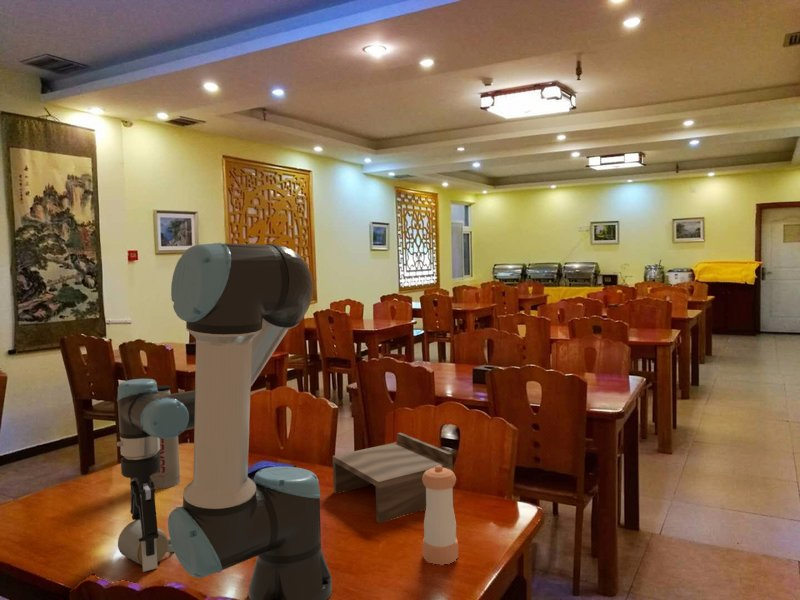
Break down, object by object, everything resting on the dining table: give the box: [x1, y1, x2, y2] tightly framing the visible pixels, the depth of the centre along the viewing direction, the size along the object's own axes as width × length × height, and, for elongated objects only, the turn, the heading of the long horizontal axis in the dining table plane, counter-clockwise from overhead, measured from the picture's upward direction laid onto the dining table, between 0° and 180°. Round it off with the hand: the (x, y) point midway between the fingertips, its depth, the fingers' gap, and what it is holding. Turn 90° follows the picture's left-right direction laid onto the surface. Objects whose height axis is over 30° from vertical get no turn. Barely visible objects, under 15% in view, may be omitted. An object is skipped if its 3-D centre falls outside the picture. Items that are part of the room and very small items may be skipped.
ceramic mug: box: [117, 520, 175, 566], centre depth 124 cm, size 11×8×8 cm
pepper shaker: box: [422, 465, 459, 566], centre depth 121 cm, size 7×7×19 cm
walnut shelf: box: [332, 432, 454, 524], centre depth 154 cm, size 24×22×12 cm
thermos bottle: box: [150, 385, 181, 489], centre depth 167 cm, size 8×8×28 cm
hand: (145, 559), depth 123 cm, fingers open, 9 cm apart
